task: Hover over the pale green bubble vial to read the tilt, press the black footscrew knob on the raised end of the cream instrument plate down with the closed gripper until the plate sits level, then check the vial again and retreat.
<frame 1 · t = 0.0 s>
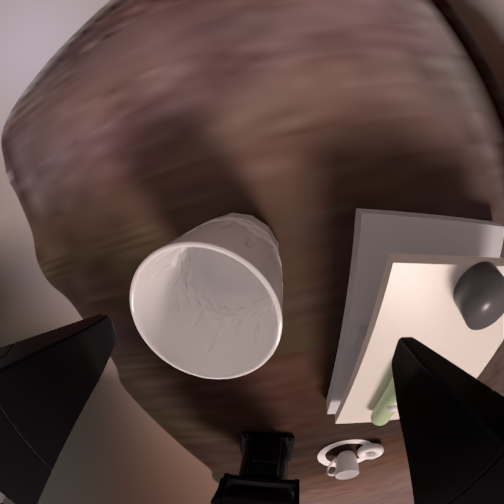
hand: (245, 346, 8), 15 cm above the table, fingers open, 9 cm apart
teacup and saucer: (358, 455, 31), on the table
instrument plate: (438, 369, 17), point 7 cm above the table, hinge at -12.0°
instrument base: (413, 322, 23), on the table
white cup: (238, 253, 23), on the table
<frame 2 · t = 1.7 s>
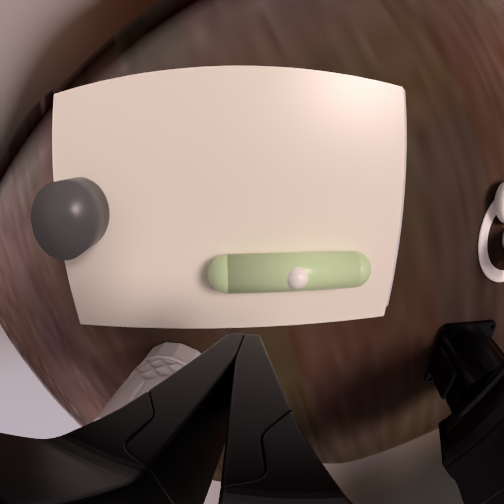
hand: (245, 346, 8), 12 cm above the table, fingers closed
instrument plate: (222, 206, 12), point 7 cm above the table, hinge at -12.0°
instrument base: (243, 189, 18), on the table
white cup: (182, 368, 25), on the table
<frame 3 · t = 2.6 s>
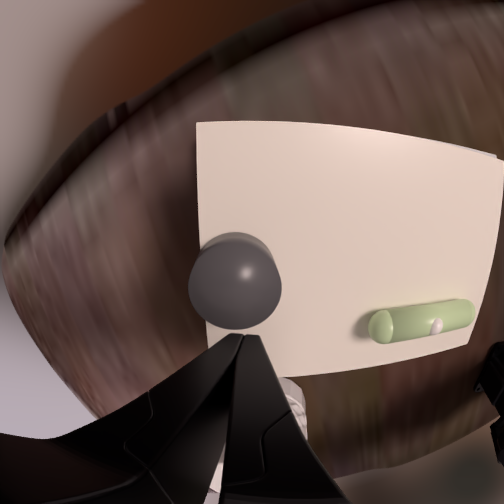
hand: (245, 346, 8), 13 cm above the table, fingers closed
instrument plate: (389, 270, 13), point 7 cm above the table, hinge at -12.0°
white cup: (269, 396, 25), on the table
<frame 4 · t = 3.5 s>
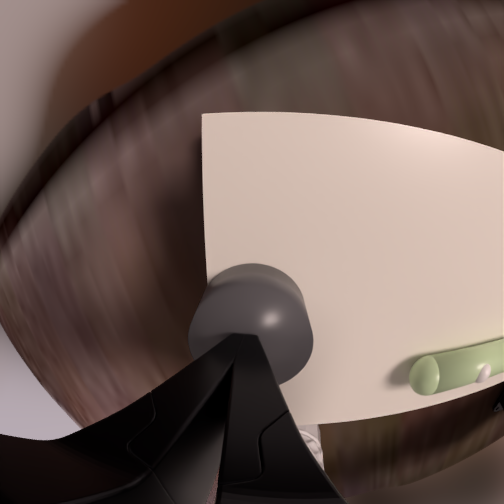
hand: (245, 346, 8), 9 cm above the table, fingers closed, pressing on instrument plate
instrument plate: (443, 311, 9), point 7 cm above the table, hinge at -6.5°, touching gripper
white cup: (280, 427, 21), on the table
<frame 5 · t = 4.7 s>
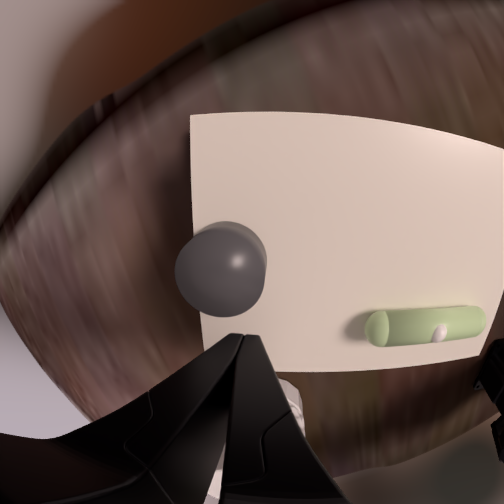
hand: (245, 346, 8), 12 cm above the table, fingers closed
instrument plate: (388, 268, 12), point 7 cm above the table, hinge at -1.9°
white cup: (265, 398, 24), on the table
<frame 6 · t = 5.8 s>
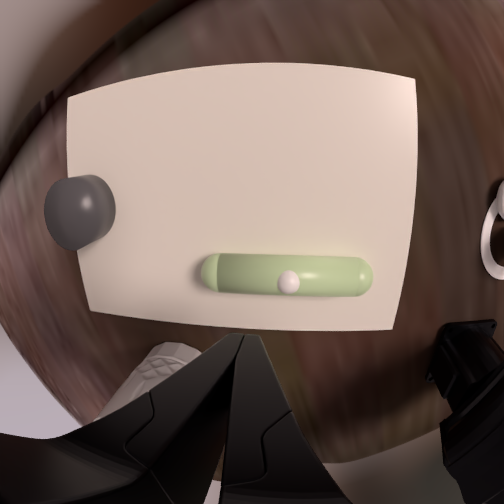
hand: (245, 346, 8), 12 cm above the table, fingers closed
instrument plate: (217, 205, 12), point 7 cm above the table, hinge at -1.9°
white cup: (183, 368, 25), on the table
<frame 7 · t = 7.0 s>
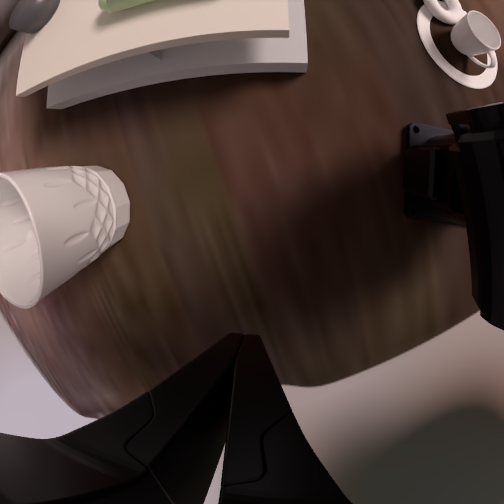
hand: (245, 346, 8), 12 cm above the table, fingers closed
teacup and saucer: (468, 28, 12), on the table
instrument base: (166, 6, 15), on the table
white cup: (99, 206, 21), on the table
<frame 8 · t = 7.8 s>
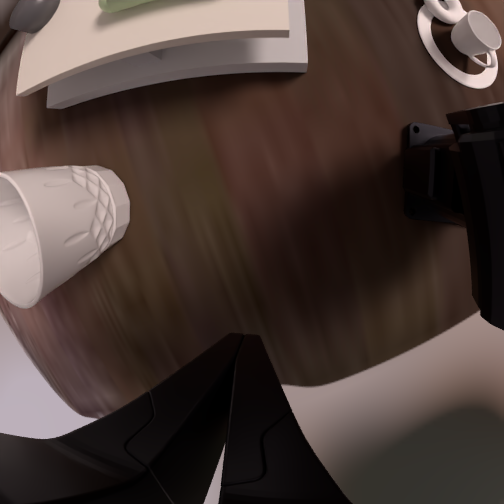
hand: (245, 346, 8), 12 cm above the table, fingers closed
teacup and saucer: (469, 27, 12), on the table
instrument base: (166, 6, 14), on the table
white cup: (99, 206, 21), on the table
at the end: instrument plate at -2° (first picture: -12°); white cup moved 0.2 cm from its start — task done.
